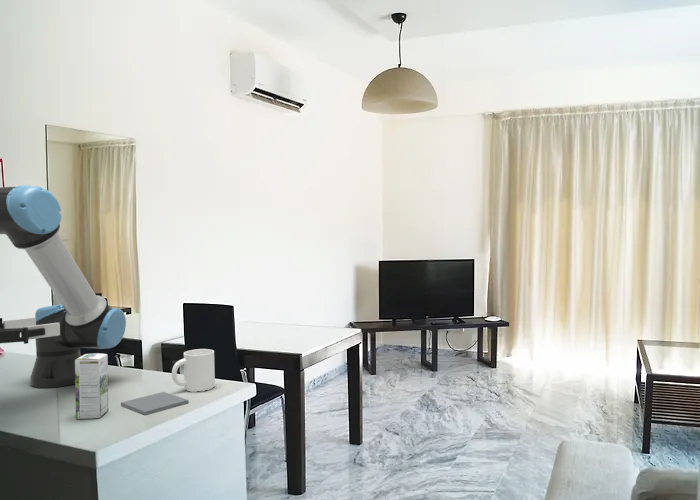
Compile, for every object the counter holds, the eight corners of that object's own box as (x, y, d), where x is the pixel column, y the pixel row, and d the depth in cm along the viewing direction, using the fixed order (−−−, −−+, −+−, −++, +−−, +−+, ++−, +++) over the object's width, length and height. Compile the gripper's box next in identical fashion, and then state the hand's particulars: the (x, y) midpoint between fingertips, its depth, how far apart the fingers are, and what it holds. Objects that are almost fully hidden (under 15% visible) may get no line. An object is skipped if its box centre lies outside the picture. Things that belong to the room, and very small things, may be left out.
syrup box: (84, 412, 137) (82, 353, 137) (109, 411, 138) (107, 352, 138) (75, 419, 132) (73, 358, 131) (101, 418, 132) (99, 357, 132)
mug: (177, 396, 149) (176, 358, 149) (167, 390, 156) (166, 353, 155) (219, 388, 156) (218, 352, 156) (208, 382, 163) (207, 347, 163)
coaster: (120, 405, 142) (120, 402, 142) (163, 394, 151) (163, 391, 151) (145, 415, 134) (144, 411, 134) (188, 403, 143) (188, 399, 143)
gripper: (-50, 327, 103) (69, 313, 119) (-84, 316, 119) (25, 305, 135) (-49, 367, 103) (70, 349, 119) (-82, 351, 119) (26, 336, 135)
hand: (47, 326), depth 127 cm, fingers open, 13 cm apart
